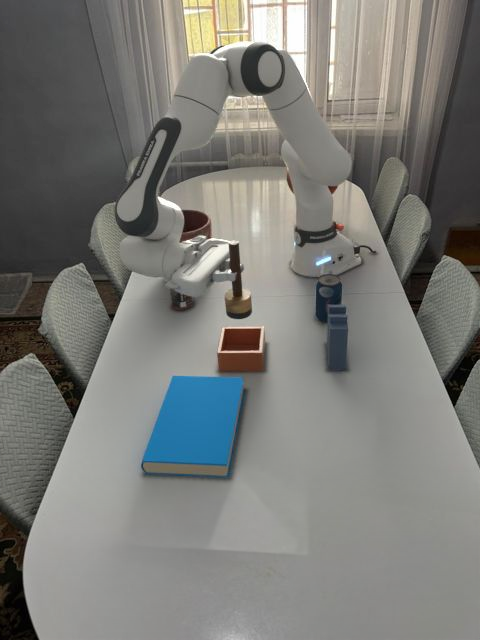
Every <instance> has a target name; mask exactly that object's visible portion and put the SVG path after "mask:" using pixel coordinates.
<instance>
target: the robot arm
mask: <svg viewBox="0 0 480 640" xmlns="http://www.w3.org/2000/svg"><path fill="white" fill-rule="evenodd" d="M229 97H234V98H247V97H262V100H263V102H264V103H265V106H266V108H267V111H268V112H269V114H270V116H271V118H272V120H273V122H274V124H275V126H276V129H277V130H278V132H279V134H280V136H282V137H283V139H284V140H283V142H282V145H281V149H280V155H281V159H282V161H283V163H284V164H285V166H286V168H287V170H288V172H289V175H290V179H291V183H292V187H293V191H294V194H293V197H294V203H295V204H294V207H295V223H294V229H293V231H294V232H293V233H294V234H293V235H294V236H293V238H294V243H293V246H294V250H293V255H292V260H291V263H290V268H291V270H292V271H293V272H294V273H296V274H298V275H301V276H304V277H309V278H310V277H312V278H314V277H315V278H319V277H320V276H322V275H324V274H334V275H337V276H339V275H340V274H342V273H345V272H347V271H349V270H351V269H353V268H355V267H357V266H359V265H361V264H362V258H361V256H360V254H361V248H364V249H368V251H370V253H372V254H376V253H377V250H373V249H372V247H370V246H369V245H363V244H359V243H358V242H357V241H356V240H355V239H354V238H352V239H348V237H346V236H344V235H343V234H341V233H340V232H343V231H344V229H345V226H344V225H343V224H341V223H340V222H338V223H337V221H335V220H334V197H333V194H331V192H330V190H329V188H328V186H338V187H339V186H340V185H342V184H343V183H344V182H345V181H346V180H347V179H348V178H349V176H350V174H351V172H352V169H353V168H352V167H353V161H352V160H353V159H352V156H351V155H350V153H349V152H348V151H347V150H346V149H345V148H344V147H343V146H342V145H341V144H340V142H339V141H338V140H337V138H336V136H335V135H334V133H333V132H332V130H331V129H330V127H329V126H328V124H327V123H326V121H325V120H324V118H323V117H322V115H321V113H320V112H319V110H318V108H317V106H316V103H315V101H314V98H313V97H312V94H311V92H310V90H309V87H308V85H307V82H306V80H305V77H304V76H303V73H302V72H301V70H300V68H299V66H298V65H297V63H296V61H295V60H294V59H293V57H292V55H291V54H290V52H289V51H288V50H286V49H285V48H283V47H275V46H273V45H272V44H269V43H267V42H264V41H255V42H253V41H238V42H235V43H232V44H228V45H225V44H223V45H220V46H217V47H216V48H214V49H212V50H211V51H210V52H208V53H204V52H203V53H202V52H200V53H199V52H198V53H196V54H194V55H192V56H191V57H190V58H189V60H188V62H187V63H186V66H185V68H184V69H183V71H182V73H181V76H180V77H179V80H178V82H177V85H176V87H175V90H174V93H173V96H172V99H171V102H170V104H169V106H168V108H167V111H166V112H165V115H164V116H163V117H162V118H161V119H159V120H158V121H157V122H156V124H155V125H154V127H153V129H152V130H151V132H150V134H149V136H148V138H147V141H146V143H145V145H144V147H143V149H142V152H141V154H140V156H139V159H138V161H137V163H136V165H135V168H134V170H133V172H132V174H131V177H130V179H129V180H128V182H127V184H126V185H125V186H124V188H123V190H121V192H120V193H119V195H118V197H117V199H116V200H115V204H114V212H113V213H114V219H115V222H116V224H117V226H118V228H119V229H120V230H121V231H122V232H123V233H124V234H126V235H127V236H126V237H125V238H123V239H122V240H121V242H120V243H119V248H118V249H119V250H118V254H119V257H120V258H119V259H120V261H121V263H122V265H123V266H124V267H125V268H126V270H129V271H130V272H132V273H135V274H138V275H142V276H145V277H150V278H164V286H165V287H166V288H167V289H169V290H170V289H174V290H175V291H176V292H178V293H181V294H184V295H187V296H191V297H192V298H199V297H203V295H204V294H205V293H206V292H207V291H208V290H209V289H210V288H211V287H212V285H214V283H223V282H227V281H229V282H232V281H235V279H236V278H237V272H236V271H231V267H230V256H229V244H228V243H229V242H230V241H231V240H225V239H219V238H212V239H208V240H207V239H206V237H205V236H197V237H195V238H193V239H190V240H187V241H183V242H181V243H180V240H181V236H182V233H183V229H184V224H185V220H184V215H183V212H182V210H183V209H181V207H180V206H179V205H178V204H176V203H174V202H172V201H170V200H168V199H166V198H163V197H160V196H159V191H160V188H161V185H162V184H163V181H164V178H165V177H166V174H167V172H168V170H169V167H170V165H171V163H172V161H173V159H174V158H175V157H176V156H177V155H178V154H180V153H181V152H184V151H194V150H199V149H201V148H204V147H205V146H207V145H208V144H209V143H210V142H211V140H212V139H213V137H214V135H215V133H216V131H217V128H218V125H219V122H220V119H221V116H222V113H223V110H224V106H225V102H226V100H227V99H228V98H229ZM240 265H241V274H242V273H243V272H244V271H245V265H244V264H243V263H241V262H240ZM227 270H228V271H227Z"/></svg>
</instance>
